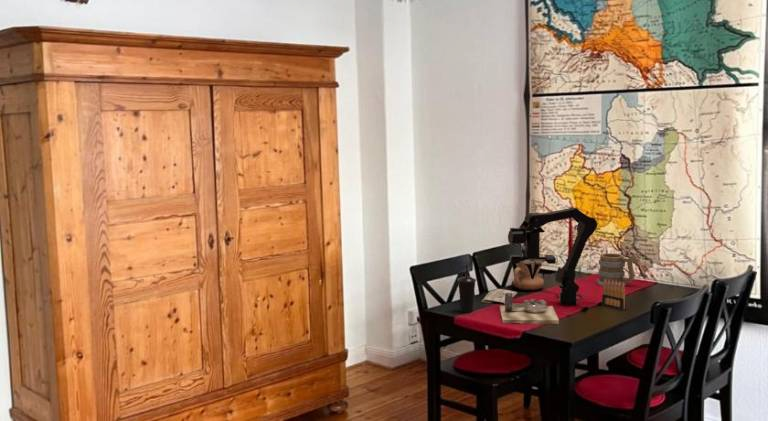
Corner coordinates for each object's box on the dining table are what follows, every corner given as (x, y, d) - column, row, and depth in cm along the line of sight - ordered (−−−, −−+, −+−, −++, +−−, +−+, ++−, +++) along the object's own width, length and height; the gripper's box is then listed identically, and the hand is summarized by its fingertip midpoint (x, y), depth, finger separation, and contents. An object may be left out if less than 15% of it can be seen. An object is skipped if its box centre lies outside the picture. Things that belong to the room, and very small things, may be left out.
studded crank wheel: (543, 307, 332) (543, 290, 331) (548, 312, 323) (548, 295, 322) (502, 308, 332) (503, 291, 331) (507, 313, 323) (507, 296, 322)
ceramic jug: (529, 283, 383) (529, 254, 381) (552, 288, 372) (552, 259, 370) (502, 289, 373) (502, 259, 371) (525, 294, 361) (525, 264, 359)
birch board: (552, 309, 335) (552, 305, 335) (558, 324, 313) (559, 319, 313) (499, 309, 337) (499, 305, 337) (502, 323, 315) (502, 319, 315)
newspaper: (491, 292, 369) (491, 287, 369) (516, 297, 365) (517, 291, 364) (477, 303, 349) (477, 298, 348) (504, 308, 344) (504, 303, 344)
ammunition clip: (625, 309, 333) (626, 281, 331) (623, 310, 332) (624, 282, 330) (604, 305, 341) (604, 277, 340) (601, 305, 340) (602, 278, 338)
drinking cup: (464, 314, 329) (464, 267, 327) (454, 310, 336) (454, 264, 333) (479, 312, 333) (479, 265, 330) (469, 308, 340) (469, 262, 337)
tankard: (592, 284, 380) (593, 253, 378) (606, 279, 389) (607, 249, 386) (630, 291, 366) (631, 259, 363) (644, 286, 374) (645, 255, 372)
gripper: (552, 239, 344) (552, 275, 346) (509, 239, 346) (509, 274, 348) (556, 244, 333) (555, 280, 335) (511, 244, 335) (510, 280, 337)
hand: (532, 278), depth 339 cm, fingers closed
